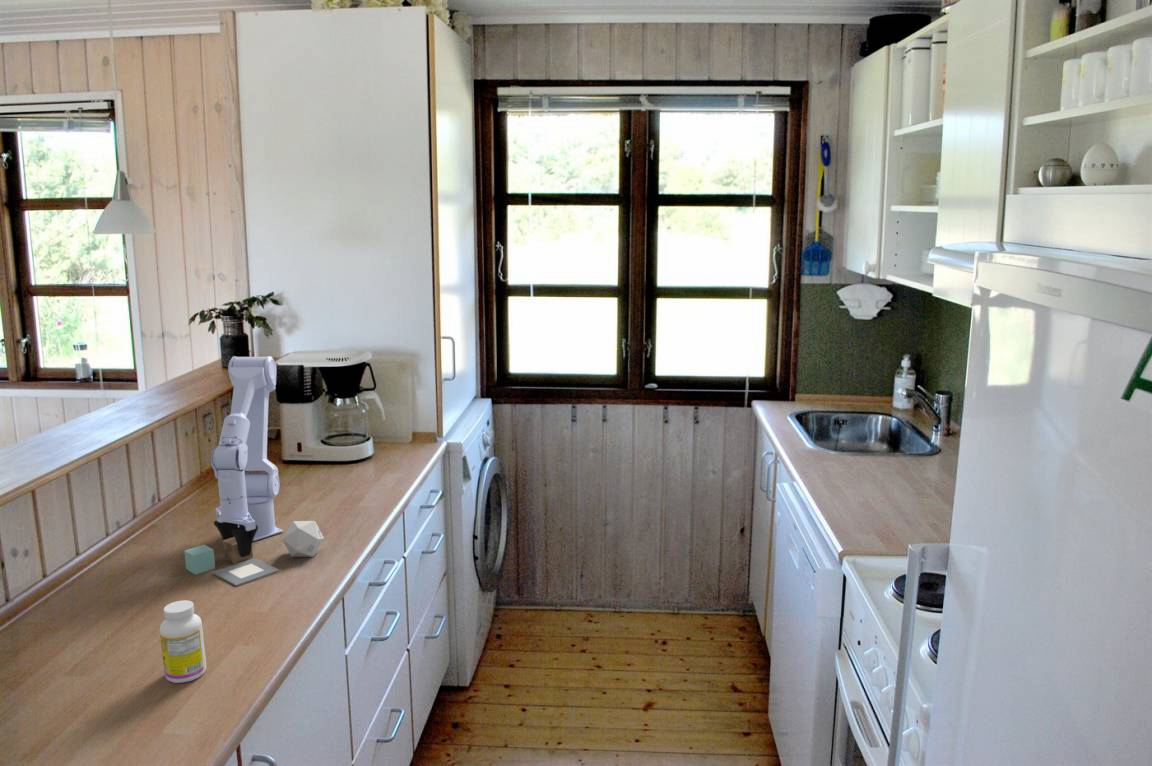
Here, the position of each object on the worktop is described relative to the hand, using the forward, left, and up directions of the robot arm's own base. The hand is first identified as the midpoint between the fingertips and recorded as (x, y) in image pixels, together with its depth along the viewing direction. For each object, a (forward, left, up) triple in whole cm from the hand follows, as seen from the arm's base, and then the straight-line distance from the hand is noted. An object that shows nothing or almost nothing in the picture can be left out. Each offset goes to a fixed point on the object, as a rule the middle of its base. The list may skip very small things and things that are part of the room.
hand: (238, 552), depth 197 cm
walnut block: (0, 0, -2) cm, 2 cm away
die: (+10, +11, -2) cm, 15 cm away
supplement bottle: (+40, -31, -2) cm, 51 cm away
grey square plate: (+9, -3, -1) cm, 10 cm away
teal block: (-1, -8, -2) cm, 9 cm away
